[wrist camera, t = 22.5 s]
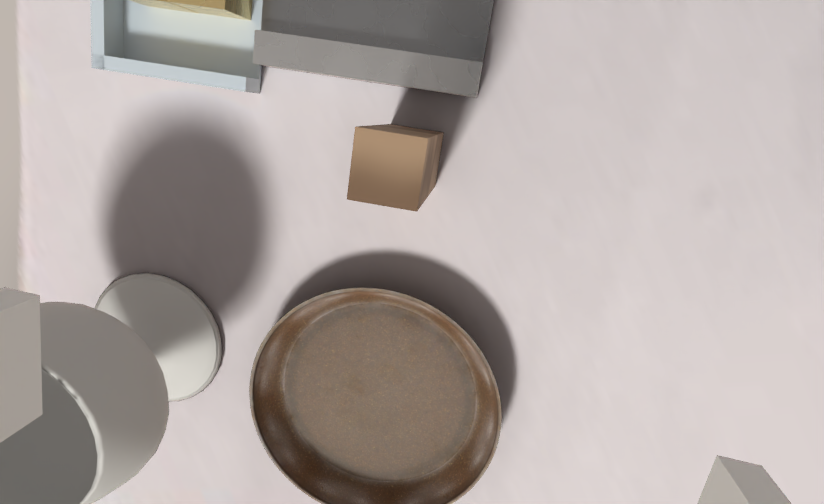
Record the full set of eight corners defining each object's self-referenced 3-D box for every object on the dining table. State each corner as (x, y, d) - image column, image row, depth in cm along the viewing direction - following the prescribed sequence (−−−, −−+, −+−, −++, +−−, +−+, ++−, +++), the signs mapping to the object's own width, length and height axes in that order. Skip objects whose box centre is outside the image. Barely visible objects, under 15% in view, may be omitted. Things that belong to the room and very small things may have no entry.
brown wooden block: (390, 124, 39) (355, 126, 28) (443, 132, 38) (428, 138, 28) (383, 177, 40) (346, 199, 29) (435, 186, 39) (416, 211, 29)
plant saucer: (220, 335, 45) (200, 352, 42) (430, 234, 40) (425, 244, 37) (335, 521, 49) (325, 550, 45) (541, 448, 44) (545, 474, 41)
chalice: (70, 366, 48) (-107, 473, 34) (107, 234, 44) (-76, 291, 30) (206, 432, 48) (86, 568, 33) (255, 305, 44) (144, 398, 29)
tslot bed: (274, -85, 36) (262, -97, 34) (504, -57, 35) (505, -68, 33) (264, 66, 39) (252, 63, 37) (477, 98, 37) (476, 97, 35)
